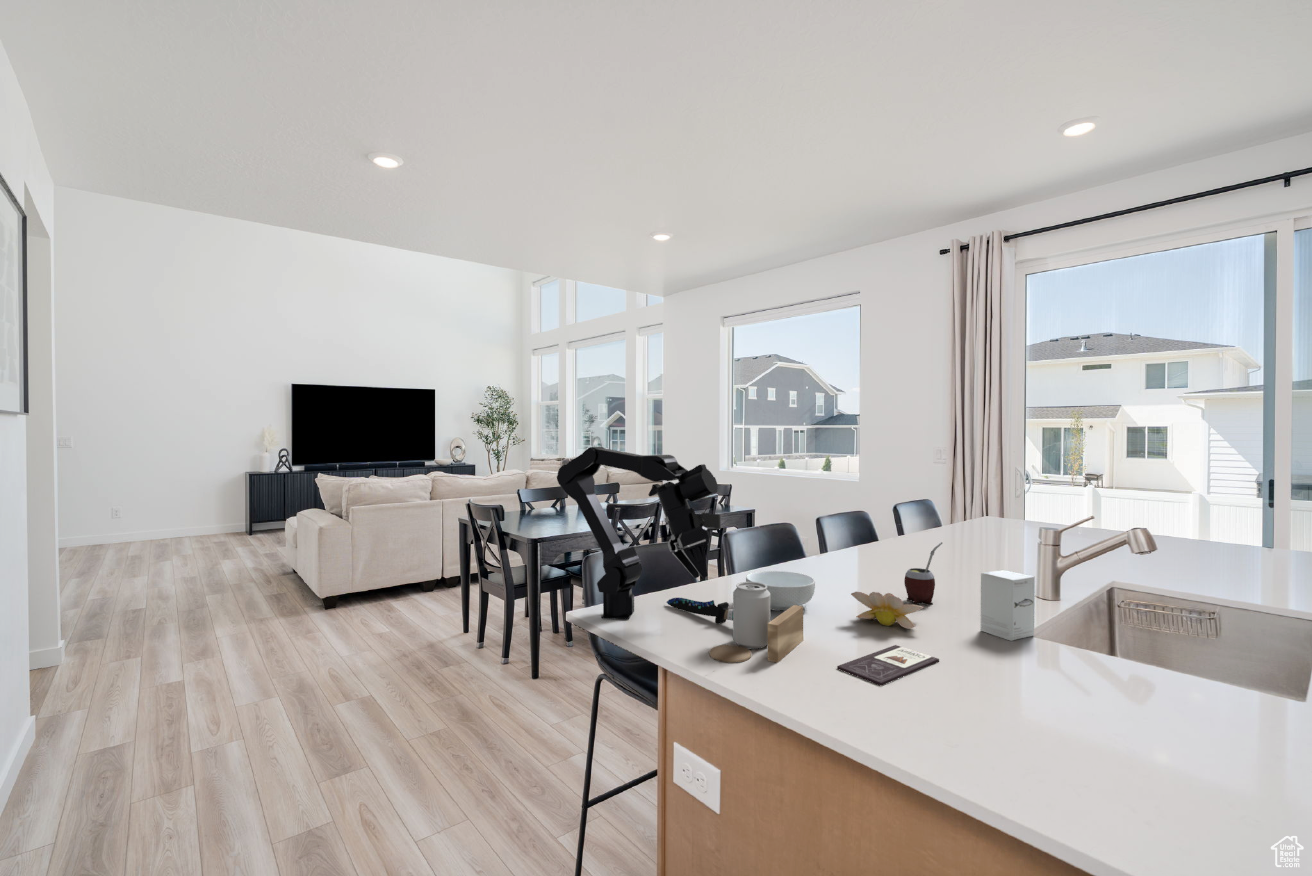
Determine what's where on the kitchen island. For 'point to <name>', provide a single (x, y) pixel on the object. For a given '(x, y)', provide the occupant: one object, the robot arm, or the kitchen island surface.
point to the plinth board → (785, 633)
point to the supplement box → (1007, 604)
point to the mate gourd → (920, 583)
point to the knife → (703, 608)
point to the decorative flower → (886, 608)
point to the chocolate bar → (888, 664)
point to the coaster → (730, 653)
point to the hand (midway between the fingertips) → (700, 577)
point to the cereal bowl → (785, 587)
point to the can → (751, 614)
